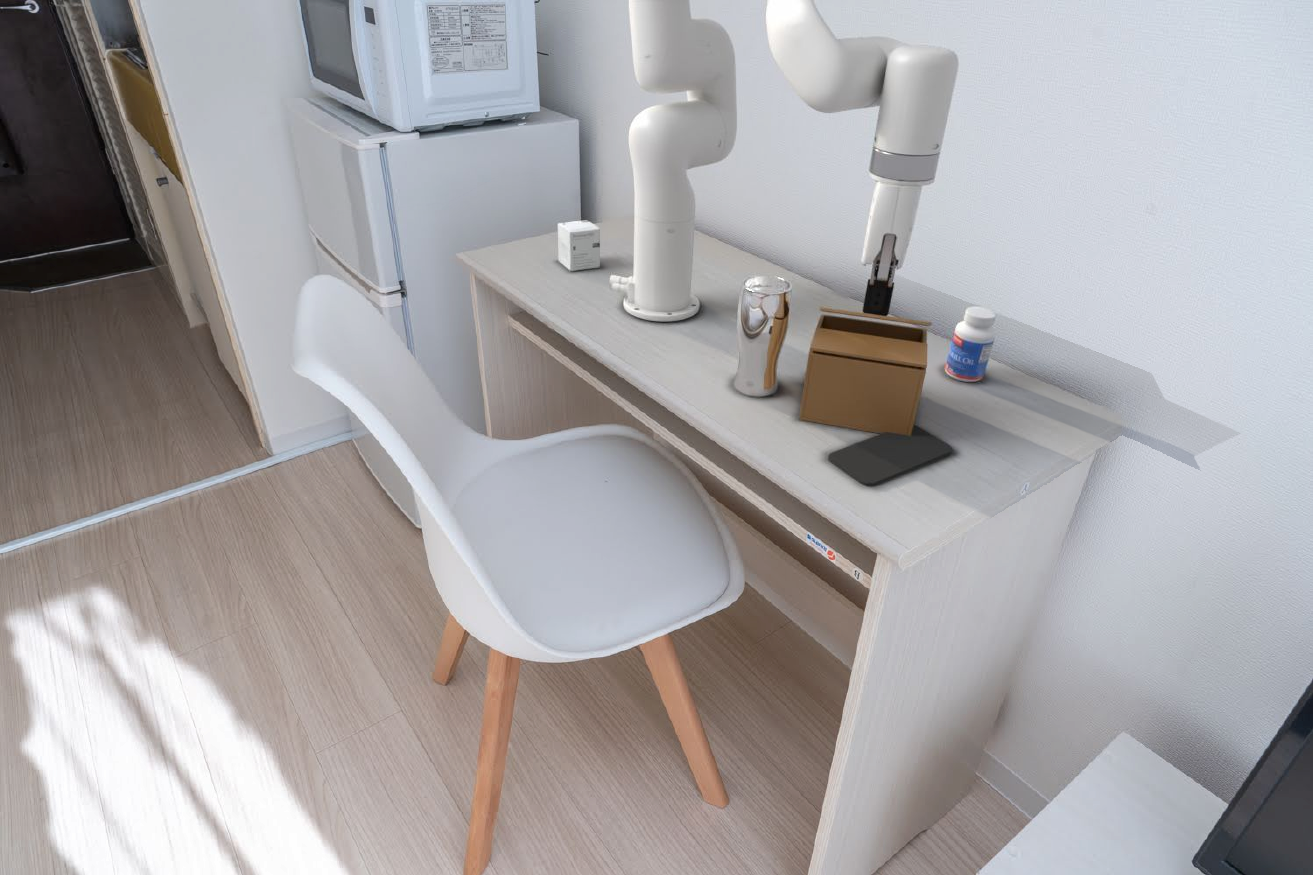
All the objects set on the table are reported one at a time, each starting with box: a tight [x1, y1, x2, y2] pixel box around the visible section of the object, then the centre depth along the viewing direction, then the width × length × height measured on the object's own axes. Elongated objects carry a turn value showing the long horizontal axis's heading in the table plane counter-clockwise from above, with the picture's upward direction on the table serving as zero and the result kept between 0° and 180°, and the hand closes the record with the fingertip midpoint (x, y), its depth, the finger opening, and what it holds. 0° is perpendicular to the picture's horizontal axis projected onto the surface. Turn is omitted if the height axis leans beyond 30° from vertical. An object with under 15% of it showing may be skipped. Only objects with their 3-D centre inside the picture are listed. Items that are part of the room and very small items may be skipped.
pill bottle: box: [944, 306, 997, 383], centre depth 113 cm, size 6×5×10 cm
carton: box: [798, 313, 928, 436], centre depth 105 cm, size 13×14×10 cm
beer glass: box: [733, 274, 793, 398], centre depth 107 cm, size 7×7×15 cm
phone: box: [827, 424, 954, 487], centre depth 97 cm, size 7×1×15 cm
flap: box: [818, 306, 933, 327], centre depth 104 cm, size 6×14×1 cm, turn 74°
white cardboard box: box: [557, 219, 601, 272], centre depth 147 cm, size 6×6×7 cm
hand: (875, 312), depth 102 cm, fingers closed
